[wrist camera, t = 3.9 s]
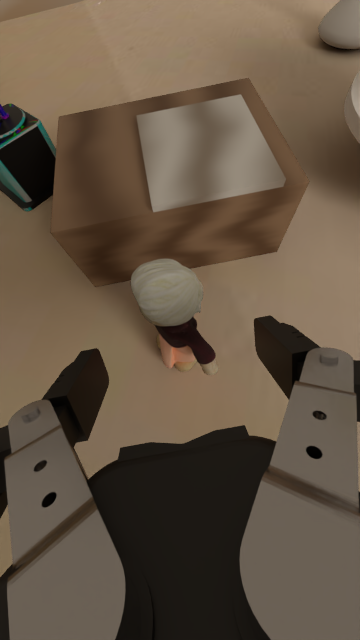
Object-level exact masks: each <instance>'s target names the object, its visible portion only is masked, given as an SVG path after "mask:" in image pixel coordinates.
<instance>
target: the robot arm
mask: <svg viewBox="0 0 360 640" xmlns="http://www.w3.org/2000/svg"><path fill="white" fill-rule="evenodd" d="M254 332H255V347H256V352H257V355H258V357H259V359H260V360H261V361H262V363H263V364H264V366H265V367H266V368H267V370H268V371H269V373H270V374H271V375H272V377H273V378H274V380H275V381H276V382H277V384H278V385H279V387H280V388H281V389H282V391H283V392H284V393H285V395H286V396H287V398H288V399H289V403H288V406H287V409H286V412H285V416H284V419H283V422H282V426H281V429H280V432H279V436H278V439H277V442H276V441H273V440H271V439H267V438H263V437H258V436H249V435H248V432H247V430H246V427H245V425H243V426H237V427H232V428H226V429H221V430H216V431H212V432H210V433H208V434H205V435H203V436H201V437H198V438H196V439H194V440H191V441H189V442H187V443H184V444H172V443H154V442H150V443H144V444H139V445H133V446H128V447H122V448H120V452H119V457H118V460H116V461H114V462H112V463H110V464H108V465H106V466H105V467H103V468H102V469H100V470H99V471H98V472H97V473H95V474H94V475H93V476H92V477H91V478H90V479H88V477H87V474H86V472H85V470H84V468H83V466H82V464H81V462H80V460H79V457H78V455H77V453H76V451H75V449H74V446H75V443H76V442H82V441H87V440H88V439H89V436H90V433H91V431H92V428H93V425H94V423H95V420H96V417H97V415H98V412H99V409H100V407H101V404H102V401H103V399H104V396H105V393H106V391H107V388H108V385H109V377H108V373H107V370H106V367H105V365H104V362H103V359H102V356H101V354H100V351H99V350H98V349H97V348H96V349H90V350H85V351H81V352H80V354H79V355H78V356H77V358H76V359H75V361H74V362H72V363H71V364H70V365H69V366H67V367H66V368H65V369H64V370H63V371H62V372H61V374H60V375H59V377H58V378H57V379H56V381H55V383H53V385H52V386H51V387H50V389H49V390H48V391H47V393H46V394H45V395H44V397H43V398H42V400H38V401H35V402H32V403H30V404H28V405H26V406H24V407H23V408H21V409H20V410H19V411H17V412H16V413H15V414H14V415H13V416H12V417H11V419H10V420H9V423H8V425H7V426H5V427H2V428H0V518H1V516H2V514H3V512H4V511H5V509H6V507H7V505H8V511H9V523H10V534H11V546H12V558H13V564H12V565H11V566H10V567H9V568H8V569H7V570H6V572H5V573H4V574H3V575H2V576H1V577H0V640H360V492H359V491H358V450H357V422H360V361H356V360H353V358H352V357H351V356H350V355H349V354H348V353H346V352H344V351H341V350H338V349H334V348H321V347H319V346H318V345H317V344H315V343H314V342H313V341H312V340H310V339H309V338H308V337H306V336H305V335H304V334H302V333H301V332H299V330H297V329H296V328H295V327H293V326H291V325H288V324H285V323H279V322H278V321H277V320H275V319H274V318H273V317H272V316H265V317H260V318H255V319H254Z"/></svg>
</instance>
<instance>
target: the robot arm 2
mask: <svg viewBox="0 0 360 640" xmlns="http://www.w3.org/2000/svg"><path fill="white" fill-rule="evenodd" d="M55 162H56V149H55V147H54V145H53V143H52V141H51V139H50V138H49V136H48V134H47V132H46V130H45V128H44V127H43V125H42V123H41V121H40V120H39V119H37V118H35V117H34V116H32V115H30V114H29V113H27V112H25V111H24V110H22V109H20V108H19V107H17V106H15V105H13V104H6V105H5V106H3V107H2V106H1V104H0V190H1V191H2V192H3V193H4V194H6V195H7V196H8V197H9V198H10V199H11V200H13V201H14V202H15V203H16V204H17V205H18V206H20V207H21V208H22V209H23V210H24V211H30V210H32V209H34V208H35V207H36V206H38V205H39V204H41V203H42V202H43V201H45V200H46V199H48V198H49V197H50V196H52V195H53V190H54V176H55Z"/></svg>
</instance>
